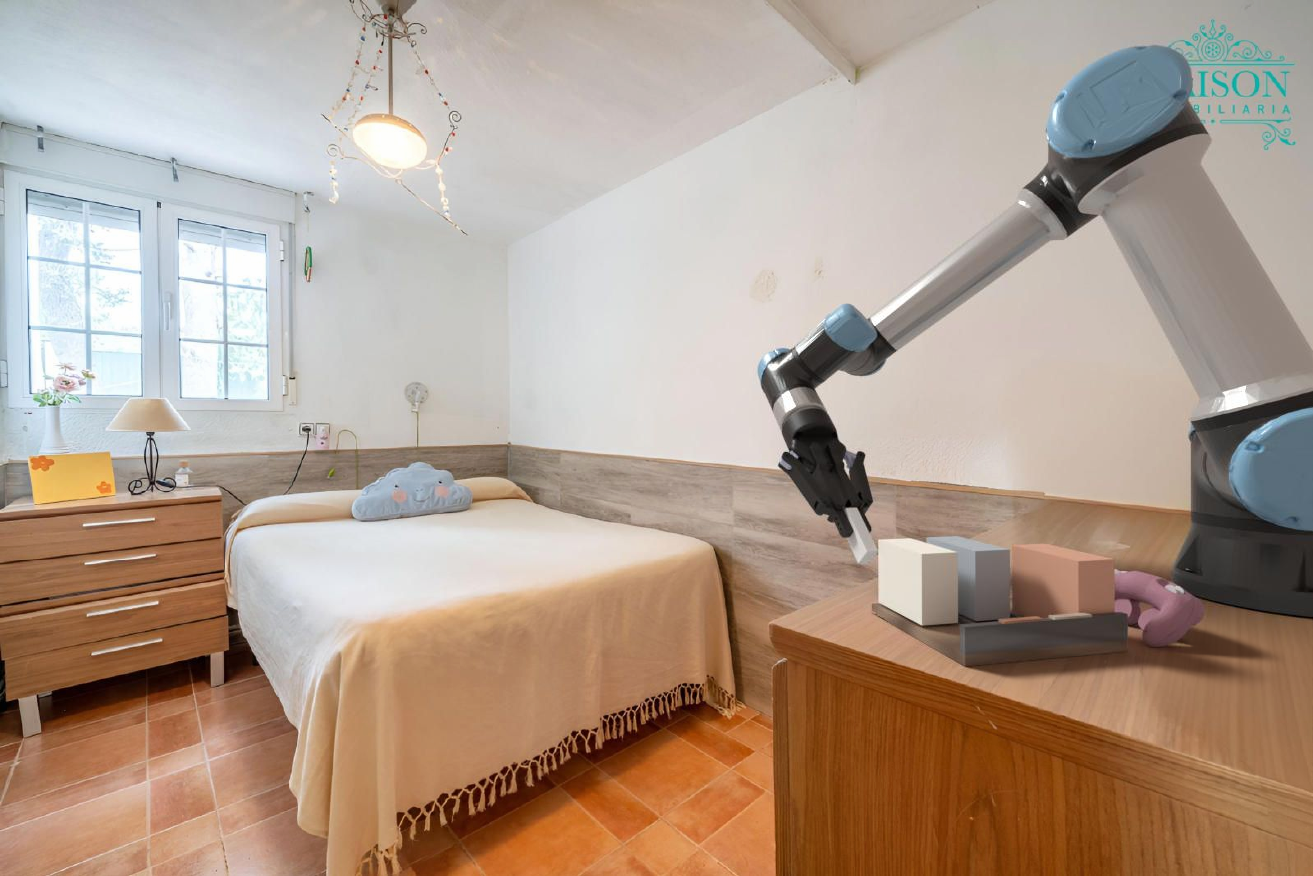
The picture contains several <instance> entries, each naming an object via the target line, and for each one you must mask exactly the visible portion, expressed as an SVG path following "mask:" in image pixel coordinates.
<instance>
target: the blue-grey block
mask: <svg viewBox="0 0 1313 876" xmlns="http://www.w3.org/2000/svg"><path fill="white" fill-rule="evenodd" d="M925 539H926V541H925V543H928V544H932V545H935V546H939V547H942V548H945V549H949V550H952V551H955V552H958V613H959V614H961V615H963V616H965V617H967V618H970V619H972V620H974V621H984V620H997V619H1007V618H1010V598H1011V549H1010V548H1006V547H1001V546H998V545H994V544H991V543H990V544H989V543H986V542H982V541H977V540H974V539H969V538H966V537H961V536H958V535H952V536H950V535H949V536H931V537H930V536H928V537H926V538H925Z"/></svg>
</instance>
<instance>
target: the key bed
mask: <svg viewBox="0 0 1313 876" xmlns="http://www.w3.org/2000/svg"><path fill="white" fill-rule="evenodd" d="M872 611H873V612H875V613H876V614H878V615H879V616H881V617H882V618H884V619H885V620H886V621H885V620H884V619H883V620H884V621H885V622H887V621H888V622H887V623H889V624H890V623H891V624H890V625H892V624H893V625H892V626H894V627H896V628H897V627H898V629H900V630H901V631H903V632H905V633H906V634H908V635H909V636H912V637H913V638H914V639H917V640H918V641H920V642H921V643H924V644H925V645H927V646H929V647H930V648H932V649H934V650H936V651H937V652H939V653H941V654H943V655H944V656H946V657H948V658H949V659H951V660H953V661H955V662H957V663H958V664H960V665H962V666H964V667H974V666H985V665H986V666H987V665H994V664H995V665H996V664H1004V663H1005V664H1006V663H1015V662H1016V663H1017V662H1018V663H1019V662H1028V661H1035V660H1037V661H1038V660H1040V661H1041V660H1049V659H1058V658H1059V659H1060V658H1069V657H1072V658H1073V657H1082V656H1090V655H1092V656H1093V655H1101V654H1111V653H1113V654H1114V653H1123V652H1129V643H1128V641H1129V640H1128V639H1129V631H1128V630H1129V627H1128V626H1129V625H1128V614H1126V613H1122V612H1114V613H1101V614H1088V613H1073V614H1059V615H1048V618H1040V617H1038V616H1033V617H1025V616H1022V615H1020V614H1017V613H1015V612H1012V597H1010V618H1007V619H997V620H984V621H974V620H972V619H970V618H967V617H965V616H963V615H961V614H959V613H958V623H949V624H936V625H923V626H922V625H920V624H918V623H916V622H914V621H912V620H911V619H909V618H907V617H905V616H903V615H901V614H899V613H897V612H896V611H894V610H892V609H890V608H888V607H886V606H884V605H882V604H880V603H879V602H877V603H871V612H872ZM882 618H881V619H882Z"/></svg>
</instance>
